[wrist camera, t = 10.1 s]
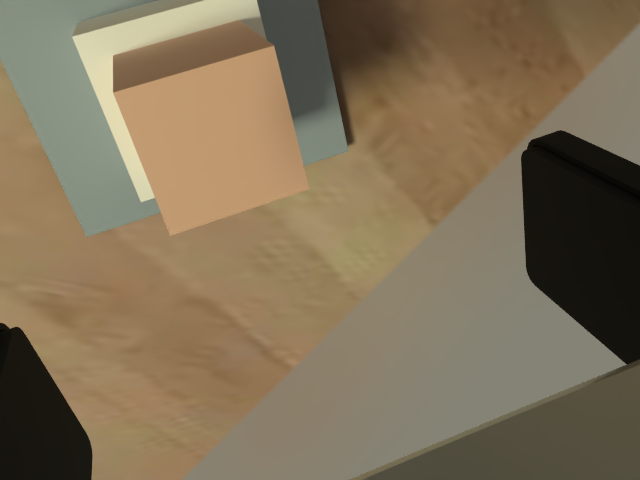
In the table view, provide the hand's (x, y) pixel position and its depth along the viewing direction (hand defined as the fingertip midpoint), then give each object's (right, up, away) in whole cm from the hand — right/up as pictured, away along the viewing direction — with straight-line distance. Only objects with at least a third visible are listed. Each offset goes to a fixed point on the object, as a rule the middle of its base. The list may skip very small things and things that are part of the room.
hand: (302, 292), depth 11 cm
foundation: (-6, +9, +17) cm, 20 cm away
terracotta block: (-5, +7, +13) cm, 16 cm away
